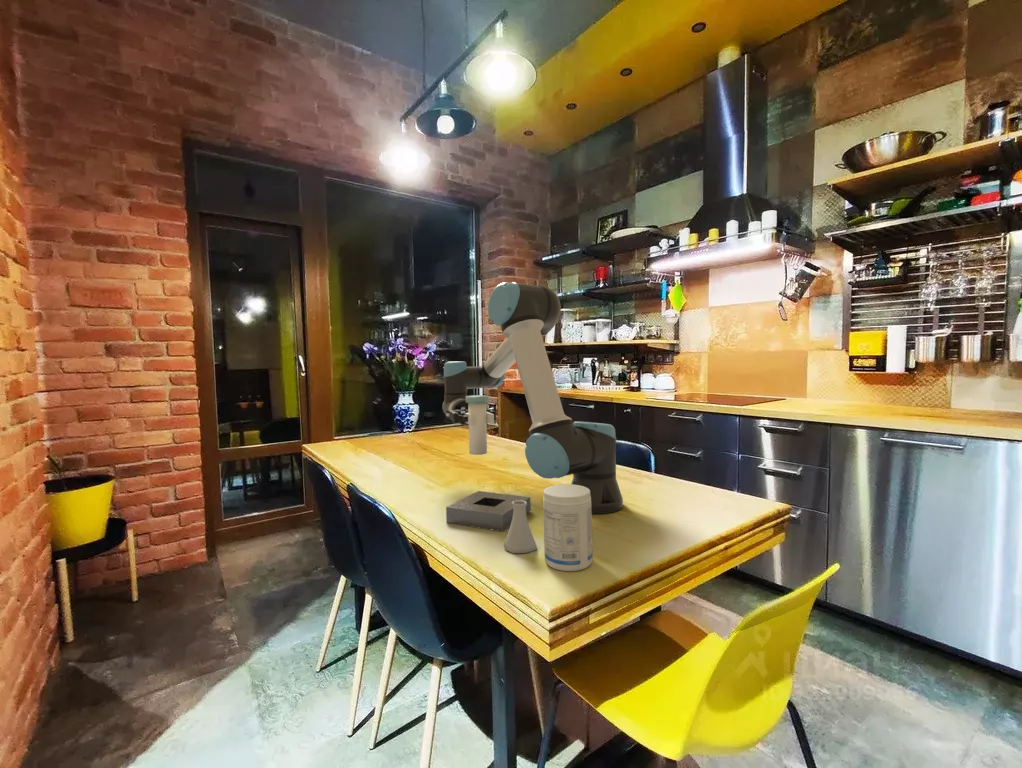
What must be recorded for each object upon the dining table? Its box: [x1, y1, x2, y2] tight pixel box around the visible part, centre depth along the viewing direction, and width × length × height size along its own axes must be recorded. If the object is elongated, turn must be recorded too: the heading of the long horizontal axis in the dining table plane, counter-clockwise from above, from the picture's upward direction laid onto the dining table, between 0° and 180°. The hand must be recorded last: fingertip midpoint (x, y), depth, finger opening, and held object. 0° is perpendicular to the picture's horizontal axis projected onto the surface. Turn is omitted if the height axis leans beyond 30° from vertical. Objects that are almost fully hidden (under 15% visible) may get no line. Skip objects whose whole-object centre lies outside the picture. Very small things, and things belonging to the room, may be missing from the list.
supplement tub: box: [542, 483, 593, 572], centre depth 95 cm, size 10×10×15 cm
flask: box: [503, 500, 538, 554], centre depth 103 cm, size 7×7×10 cm
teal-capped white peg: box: [466, 394, 490, 456], centre depth 134 cm, size 6×6×16 cm
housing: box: [445, 490, 532, 532], centre depth 123 cm, size 16×16×4 cm
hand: (482, 419), depth 129 cm, fingers closed on teal-capped white peg, 5 cm apart
